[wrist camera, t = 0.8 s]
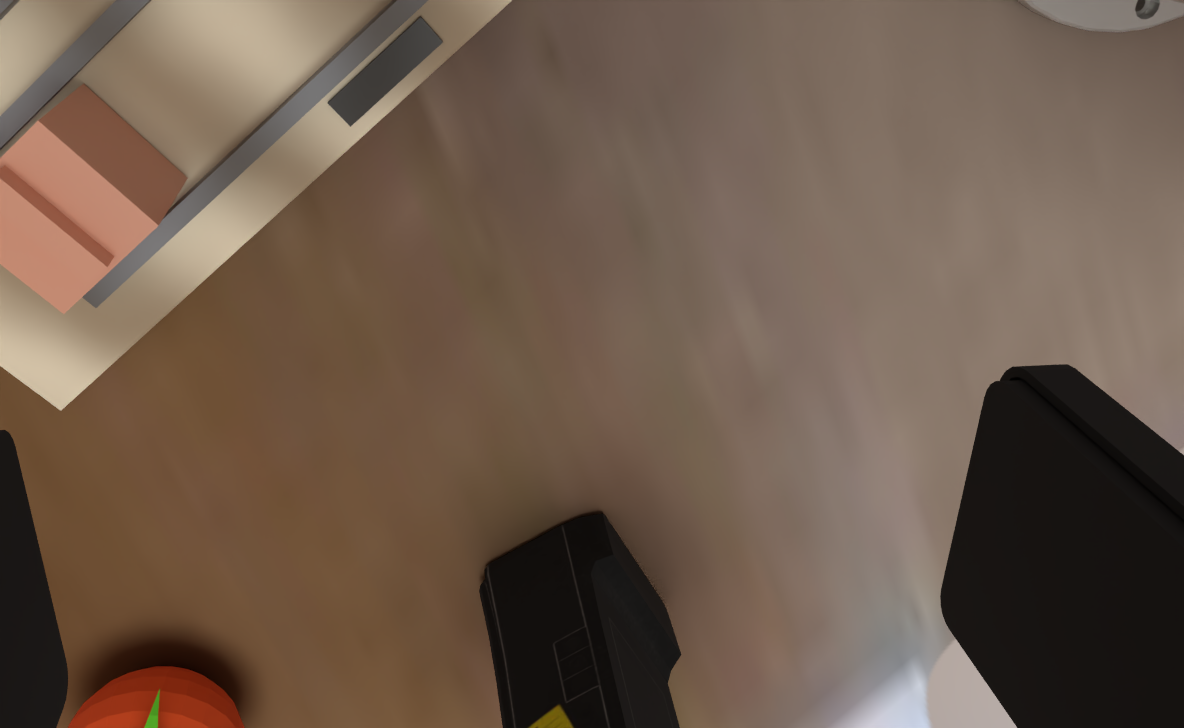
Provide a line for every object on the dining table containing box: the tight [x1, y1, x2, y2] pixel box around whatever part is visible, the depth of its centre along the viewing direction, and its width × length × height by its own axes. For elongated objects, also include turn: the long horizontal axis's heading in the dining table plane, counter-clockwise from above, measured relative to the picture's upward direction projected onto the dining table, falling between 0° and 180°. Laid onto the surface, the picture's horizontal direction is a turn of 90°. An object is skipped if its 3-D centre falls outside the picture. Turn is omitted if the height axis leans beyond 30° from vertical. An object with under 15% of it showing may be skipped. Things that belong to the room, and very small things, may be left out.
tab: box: [0, 83, 188, 314], centre depth 32 cm, size 4×4×5 cm
